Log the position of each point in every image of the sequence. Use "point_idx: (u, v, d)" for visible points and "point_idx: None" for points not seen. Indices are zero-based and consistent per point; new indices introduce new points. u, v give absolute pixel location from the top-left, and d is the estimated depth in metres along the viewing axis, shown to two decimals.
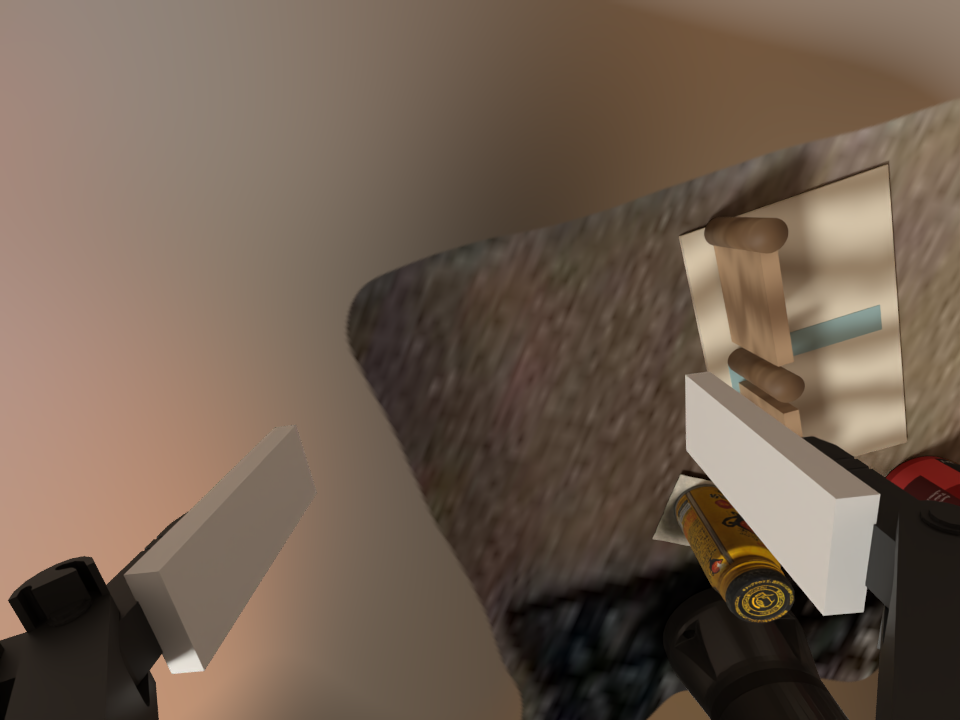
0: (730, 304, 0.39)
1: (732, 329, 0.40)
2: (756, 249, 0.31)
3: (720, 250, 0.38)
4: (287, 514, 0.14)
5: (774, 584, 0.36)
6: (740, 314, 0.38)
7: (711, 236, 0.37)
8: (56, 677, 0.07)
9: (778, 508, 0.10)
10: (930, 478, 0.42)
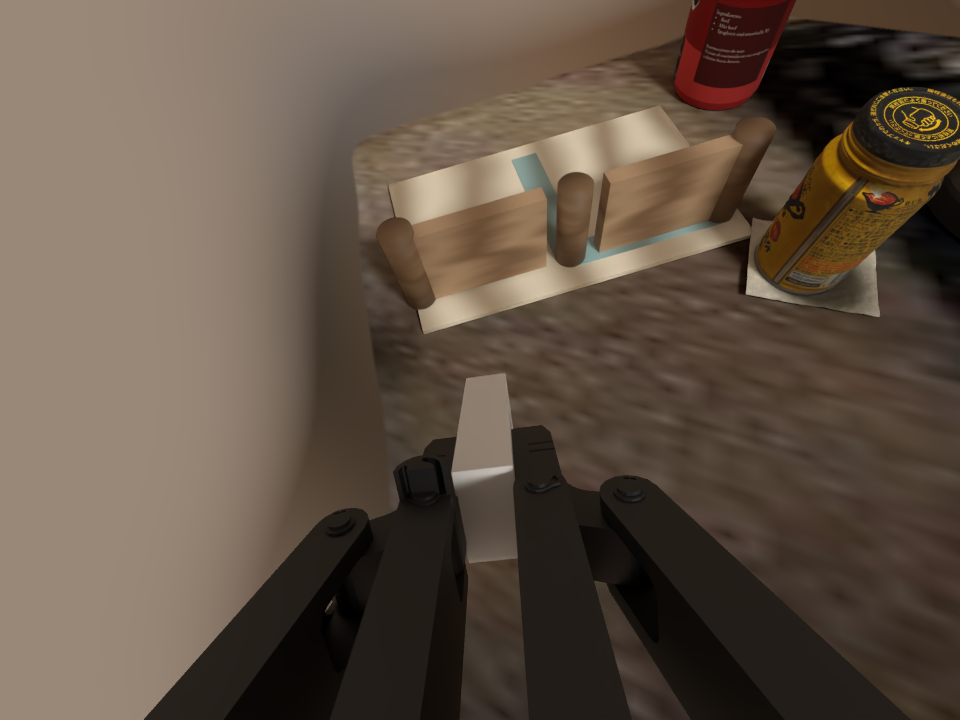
0: (498, 271, 0.34)
1: (529, 266, 0.35)
2: (406, 240, 0.29)
3: (437, 289, 0.34)
4: None
5: (879, 112, 0.23)
6: (504, 257, 0.33)
7: (420, 299, 0.34)
8: (410, 551, 0.09)
9: None
10: (693, 70, 0.40)
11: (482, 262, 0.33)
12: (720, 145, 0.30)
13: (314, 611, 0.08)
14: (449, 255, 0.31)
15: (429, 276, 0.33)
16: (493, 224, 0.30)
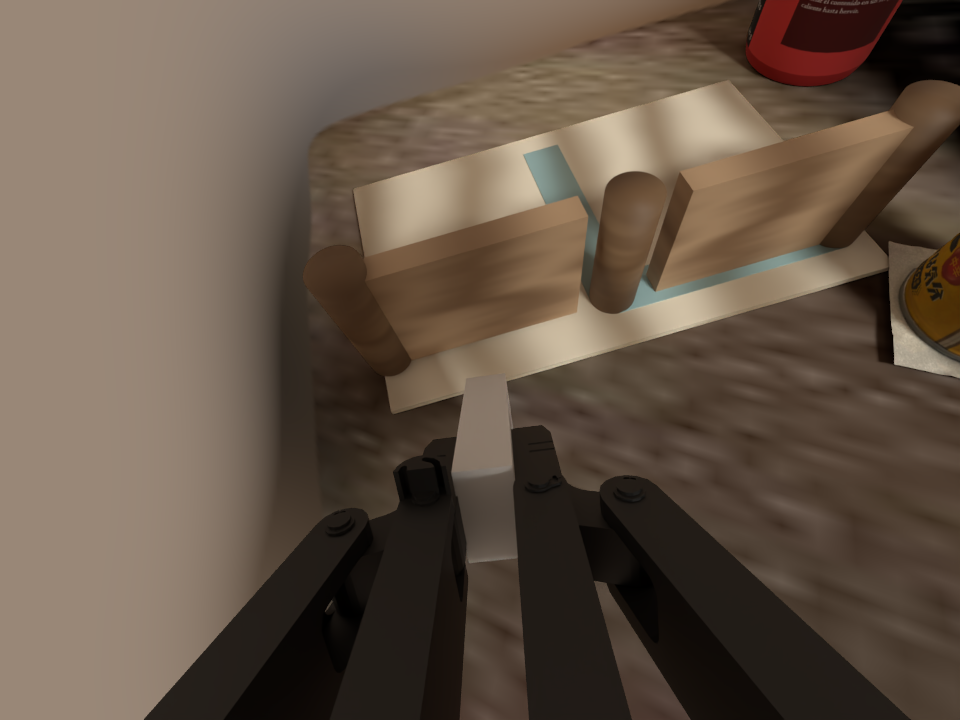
0: (504, 322, 0.23)
1: (551, 313, 0.23)
2: (351, 285, 0.17)
3: (413, 348, 0.23)
4: None
5: None
6: (514, 303, 0.21)
7: (386, 364, 0.22)
8: (410, 551, 0.09)
9: None
10: (782, 28, 0.28)
11: (481, 310, 0.21)
12: (874, 128, 0.18)
13: (314, 611, 0.08)
14: (428, 303, 0.20)
15: (398, 332, 0.21)
16: (498, 256, 0.18)
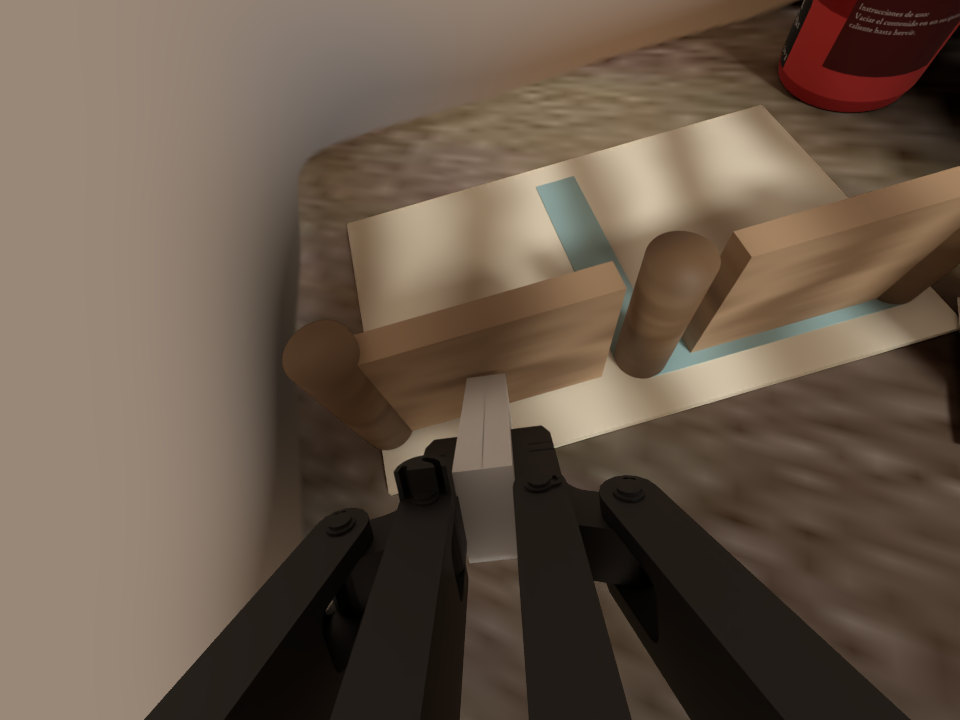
0: (520, 390, 0.20)
1: (573, 379, 0.20)
2: (341, 374, 0.14)
3: (414, 420, 0.20)
4: None
5: None
6: (532, 373, 0.19)
7: (383, 441, 0.19)
8: (410, 551, 0.09)
9: None
10: (825, 49, 0.25)
11: None
12: None
13: (314, 611, 0.08)
14: (432, 380, 0.17)
15: (397, 408, 0.18)
16: (517, 332, 0.15)
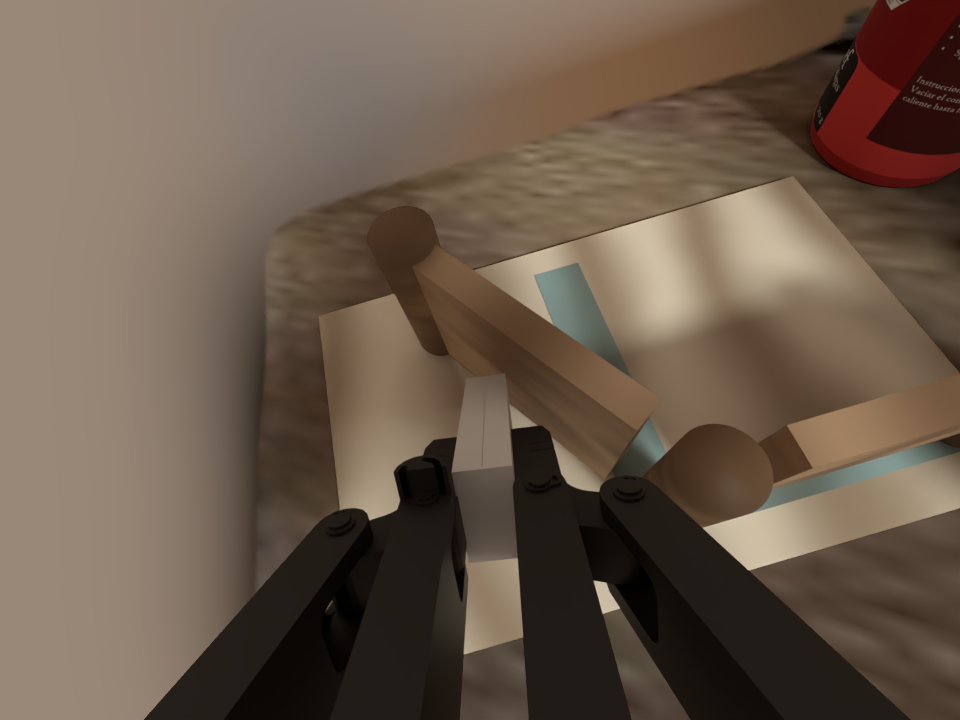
0: (531, 412, 0.19)
1: (578, 454, 0.18)
2: (392, 260, 0.15)
3: (450, 348, 0.21)
4: None
5: None
6: (541, 410, 0.17)
7: (419, 337, 0.21)
8: (410, 551, 0.09)
9: None
10: (871, 121, 0.22)
11: (509, 383, 0.18)
12: None
13: (314, 611, 0.08)
14: (463, 332, 0.17)
15: (438, 326, 0.19)
16: (531, 364, 0.14)
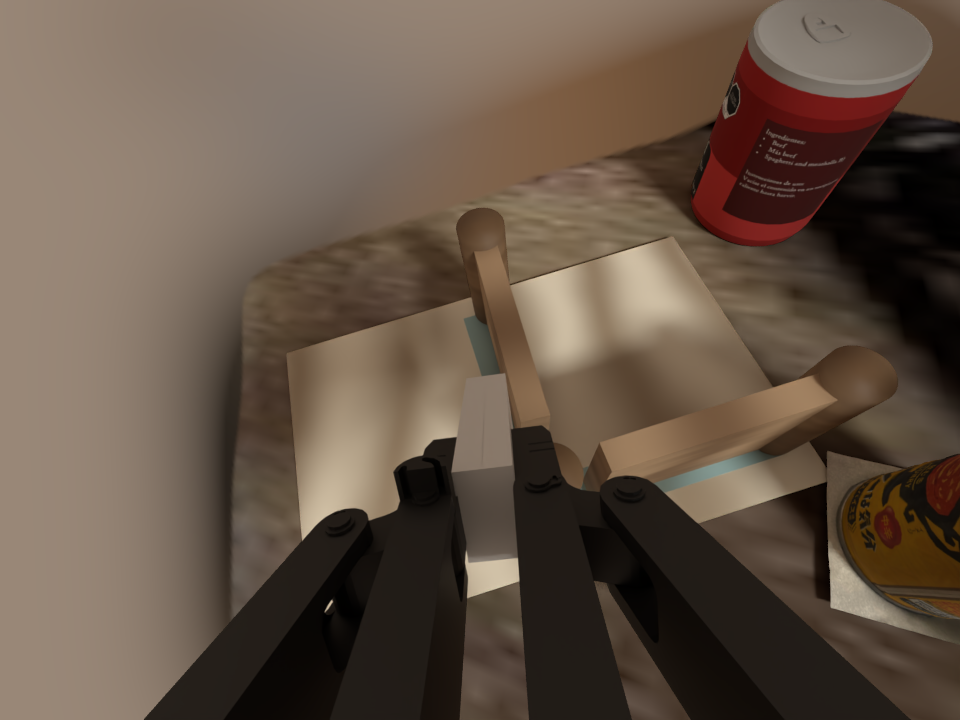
0: None
1: None
2: (463, 241, 0.22)
3: (487, 320, 0.27)
4: None
5: None
6: None
7: (472, 301, 0.28)
8: (410, 551, 0.09)
9: None
10: (723, 197, 0.28)
11: (499, 362, 0.24)
12: (798, 398, 0.17)
13: (314, 611, 0.08)
14: (487, 311, 0.23)
15: (482, 300, 0.26)
16: (500, 352, 0.20)
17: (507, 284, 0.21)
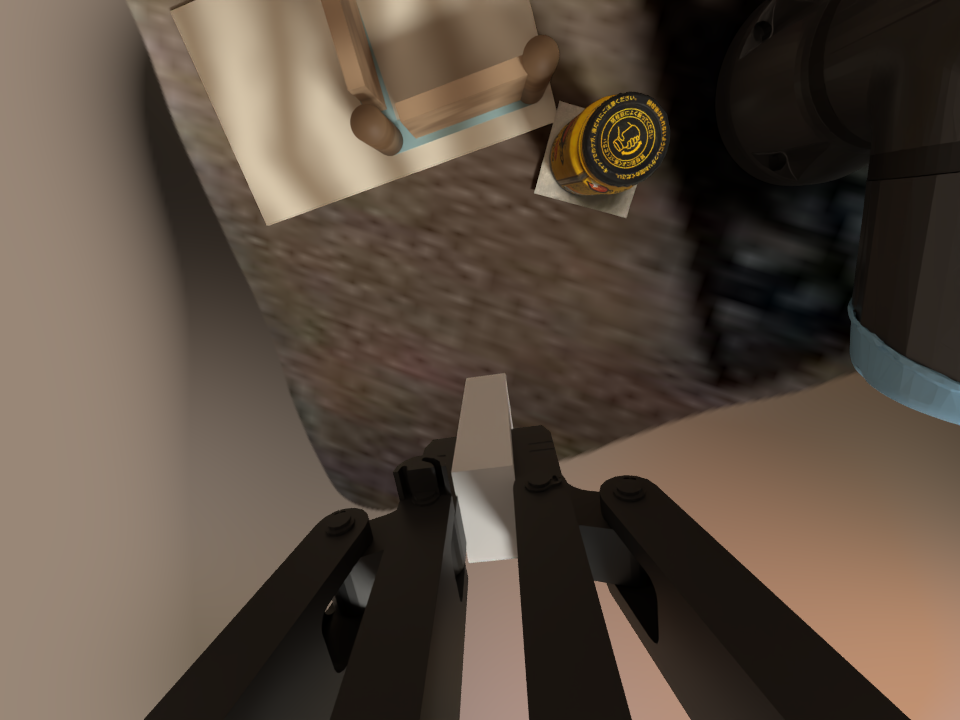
0: None
1: None
2: None
3: None
4: None
5: (599, 129, 0.27)
6: None
7: None
8: (410, 551, 0.09)
9: None
10: None
11: None
12: (507, 72, 0.30)
13: (314, 611, 0.08)
14: None
15: None
16: None
17: None
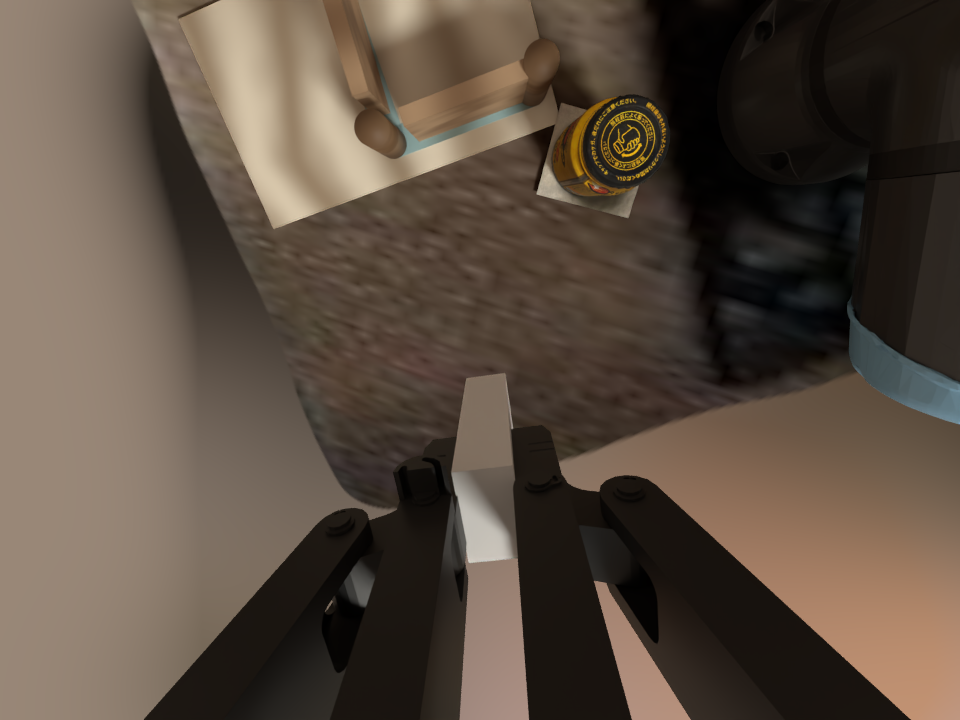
0: None
1: None
2: None
3: None
4: None
5: (599, 132, 0.27)
6: None
7: None
8: (410, 551, 0.09)
9: None
10: None
11: None
12: (508, 76, 0.30)
13: (314, 611, 0.08)
14: None
15: None
16: None
17: None
